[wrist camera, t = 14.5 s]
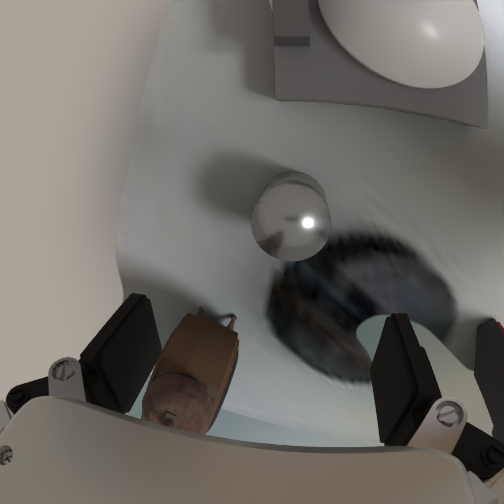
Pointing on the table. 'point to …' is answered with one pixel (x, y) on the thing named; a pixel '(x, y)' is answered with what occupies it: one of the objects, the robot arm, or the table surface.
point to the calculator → (491, 372)
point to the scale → (383, 55)
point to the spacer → (291, 217)
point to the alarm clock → (192, 375)
